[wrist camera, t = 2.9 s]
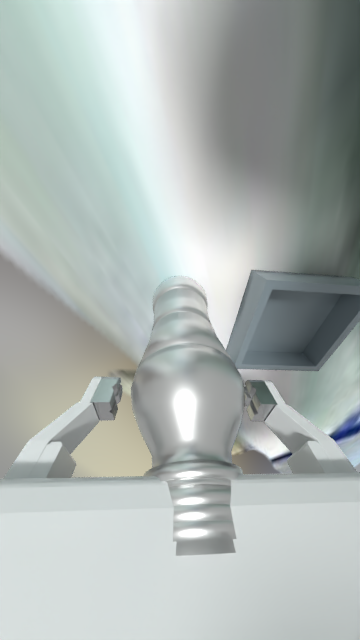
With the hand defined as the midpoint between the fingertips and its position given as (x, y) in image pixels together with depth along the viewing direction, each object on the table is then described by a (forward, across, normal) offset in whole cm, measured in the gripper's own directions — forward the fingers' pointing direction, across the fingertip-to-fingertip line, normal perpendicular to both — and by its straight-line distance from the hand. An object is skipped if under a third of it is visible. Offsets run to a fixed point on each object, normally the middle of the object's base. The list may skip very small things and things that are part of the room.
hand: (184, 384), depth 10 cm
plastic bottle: (+14, 0, -1) cm, 14 cm away
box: (+14, -16, +2) cm, 21 cm away
